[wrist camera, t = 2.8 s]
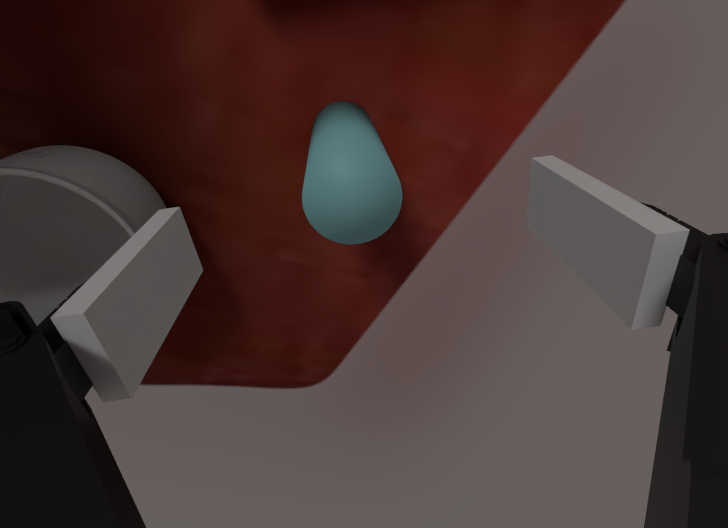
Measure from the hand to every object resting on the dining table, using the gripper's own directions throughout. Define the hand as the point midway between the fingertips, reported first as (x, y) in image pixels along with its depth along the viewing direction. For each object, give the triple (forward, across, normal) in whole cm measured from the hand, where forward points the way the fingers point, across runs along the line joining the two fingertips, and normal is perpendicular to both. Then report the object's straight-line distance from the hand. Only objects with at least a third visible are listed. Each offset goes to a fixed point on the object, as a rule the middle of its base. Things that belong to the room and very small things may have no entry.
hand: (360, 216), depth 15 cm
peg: (+13, 0, 0) cm, 13 cm away
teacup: (+13, -18, -4) cm, 23 cm away
